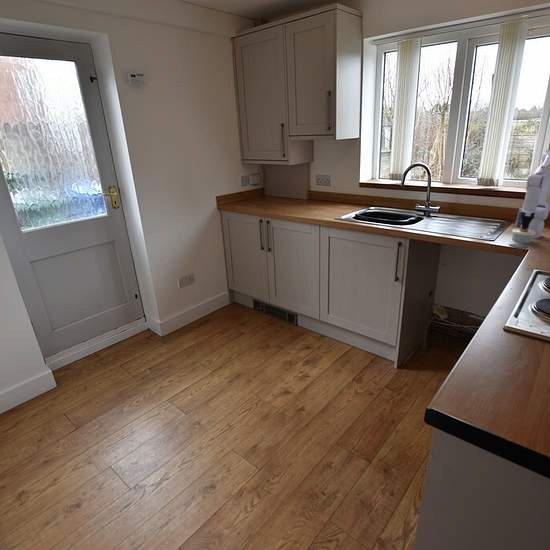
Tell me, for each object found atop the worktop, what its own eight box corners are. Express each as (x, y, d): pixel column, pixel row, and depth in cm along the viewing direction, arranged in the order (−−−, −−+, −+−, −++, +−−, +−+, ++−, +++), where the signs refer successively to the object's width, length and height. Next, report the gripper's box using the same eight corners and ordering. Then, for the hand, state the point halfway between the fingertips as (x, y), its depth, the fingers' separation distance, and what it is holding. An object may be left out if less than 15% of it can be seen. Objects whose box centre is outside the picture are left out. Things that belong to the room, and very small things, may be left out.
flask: (514, 226, 213) (518, 208, 209) (515, 225, 215) (519, 207, 211) (533, 229, 208) (538, 210, 204) (534, 228, 210) (539, 209, 206)
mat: (513, 243, 183) (514, 242, 183) (531, 247, 177) (531, 246, 176) (504, 246, 179) (505, 245, 179) (522, 250, 173) (522, 249, 173)
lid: (518, 229, 191) (519, 221, 190) (539, 233, 183) (541, 226, 182) (507, 231, 186) (509, 224, 185) (528, 236, 178) (530, 228, 177)
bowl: (517, 238, 191) (519, 229, 190) (533, 242, 185) (536, 233, 183) (508, 240, 188) (510, 232, 186) (525, 244, 181) (527, 235, 180)
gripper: (522, 197, 186) (515, 223, 191) (521, 202, 175) (514, 229, 180) (539, 198, 183) (532, 225, 188) (538, 203, 171) (531, 231, 177)
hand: (524, 227), depth 184 cm, fingers open, 5 cm apart
